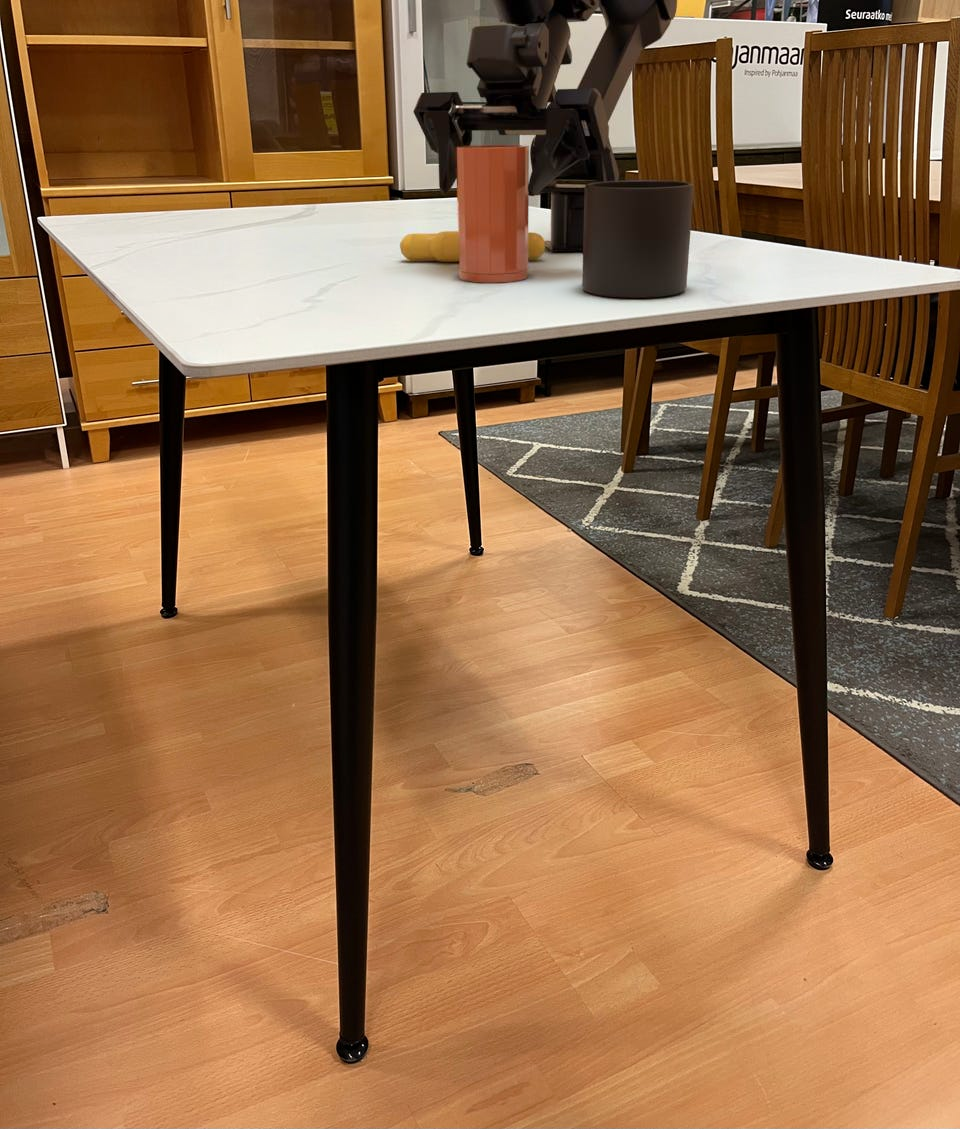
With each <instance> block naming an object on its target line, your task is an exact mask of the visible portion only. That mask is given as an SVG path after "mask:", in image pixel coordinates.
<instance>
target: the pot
mask: <svg viewBox="0 0 960 1129" xmlns="http://www.w3.org/2000/svg"><path fill="white" fill-rule="evenodd" d="M529 165H530V146H529V145H527V144H478V145H475V144H474V145H470V146H458V147H456V171H457V179H456V201H457V202H456V205H457V206H456V208H457V209H456V210H457V231H458V251H459V262H458V270H459V273H458V276H459V280H462V281H466V282H472V283H483V284H485V283H487V284H489V283H490V284H492V283H493V284H495V283H497V284H498V283H512V282H517V281H522V280H525V279H527V278H528V277H529V274H528V273H529V270H528V269H529V260H528V233H529V205H530V204H529V196H530V194H529V191H528V185H529V180H530V176H529V175H530V173H529V172H530V166H529Z"/></svg>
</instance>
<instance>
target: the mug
mask: <svg viewBox="0 0 960 1129" xmlns="http://www.w3.org/2000/svg"><path fill="white" fill-rule="evenodd" d="M585 185H586V186H585V201H584V237H583V250H582V276H581V277H582V278H581V286H582V288H583V290H584V291H586V292H587V293H590V294H593V295H596V296H600V297H606V298H618V299H655V298H663V297H670V296H674V295H677V294H680V293H682V292H684V291H685V290H686V288H687V284H688V283H687V282H688V271H689V269H688V268H689V257H690V244H691V243H690V242H691V228H692V216H693V215H692V214H693V202H694V201H693V200H694V191H695V190H694V189H695V188H694V187H695V185H694V183H692V182H688V181H680V180H663V179H662V180H660V179H659V180H658V179H654V180H653V179H643V180H642V179H631V180H630V179H628V180H625V179H624V180H618V181H605V182H597V181H593V182H590V183H587V184H585Z"/></svg>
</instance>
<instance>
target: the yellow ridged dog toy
mask: <svg viewBox="0 0 960 1129" xmlns="http://www.w3.org/2000/svg"><path fill="white" fill-rule="evenodd" d="M545 241H546V240H545V239H544V237H543V236H542V235H541V234H539V233H536V232H528V261H530V260H532V261H533V260H537V259H539V258H540V257H542V255H544V252H545V250H546V246H545ZM399 249H400V252H401V254H402V256H403V257H404V258H405V259H406V260H409V261H438V262H440V263H459V251H458V230H453V231H452V230H450V231H448V230H444V231H440V232H437V233H409V234H406V235H405V236H404V237H403V238H402V239H401V241H400V244H399Z"/></svg>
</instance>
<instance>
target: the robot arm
mask: <svg viewBox="0 0 960 1129" xmlns="http://www.w3.org/2000/svg"><path fill="white" fill-rule="evenodd" d="M491 2H492V4H493V7H494V10H495V12H496V16H497V18H498V21H499V23H504V24H495V25H494V24H493V25H477V26H474V27H472V28H471V32H470V38H469V46H468V50H467V58H466V66H467V67H468V69H471V70H472V72H474V73H475V75H476V76H477V77H478V78H479V80H478V83H477V86H476V90H477V93H478V95H479V97H480V98H481V99H483V98H484V99H485V103H484V104H474V105H473V104H469V105H468V104H466V105H464V104H463V101H462V98H461V95H460V94H459V91H437V92H434V91H433V92H421V93H420V95H419V97H418V99H417V101H416V104H415V106H414V109H413V110H412V111H413V112H412V113H413V114H414V117H415V118H416V120H417V123H418V125H419V128H420V129H421V131H422V133H423V135H424V138H425V139H426V142H427V143H428V145H429V148H430V150H431V151H433V152H434V153H436V154H437V156H438V157H437V158H438V160H437V162H438V187H439V190H440V192H441V194H442V195H448V193H449V191H450V190H451V189H452V187H453V186H454V184H455V182H456V181H457V171H456V147H458V146H471V144H472V142H473V132H475V131H477V132H479V131H480V132H483V131H486V132H487V131H488V132H489V131H497V132H498V135H499V136H534V137H533V138H532V140H531V143H530V147H529V160H530V166H531V173H530V176H529V185H528V191H529V196H530V197H535V196H537V194H544V193H545V194H546V193H548V194H550V240H544V241H545V248H547V249H548V250H550V251H551V252H574V251H575V252H577V251H579V252H580V251H583V237H584V201H585V186H586V184H566V183H565V184H561V183H557V181H575V182H576V181H579V182H580V181H581V182H587V181H588V182H605V181H619V178H620V171H619V168H618V165H617V161H616V159H615V155H614V152H613V148H612V145H611V141H610V136H609V135H610V126H609V122H610V120H611V117H612V115H613V113H614V111H615V109H616V107H617V104H618V102H619V100H620V98H621V95H622V94H623V92H624V89H625V87H626V85H627V83H628V81H629V78H630V76H631V74H632V72H633V70H634V68H635V66H636V63H637V61H638V58H639V57H640V55H641V52H642V51H643V50H644V49H647V47H649V46H651V45H652V44H653V45H654V43H656V42H659V40H661V39H662V37H663V36H664V35H665V33H666V31H667V30H668V28H669V27H670V25H671V22H672V20H674V19H675V17H676V14H677V8H678V0H491ZM598 8H599V11H600V12H601V15H602V17H603V19H604V23H605V30H604V32H603V33H602V36H601V38H600V40H599V42H598V44H597V46H596V49H595V50H594V52H593V54H592V57H591V59H590V60H589V63H588V64H587V66H586V68H585V71H584V73H583V75H582V77H581V79H580V81H579V83H578V85H577V87H576V88H557V89H556V85H555V83H556V81H557V77H558V75H559V71H560V69H561V67H562V66H563V65H564V66H565V65H566V66H567V65H571V64H572V62H573V53H572V49H571V46H570V43H569V42H570V39H571V37H572V36H571V35H572V34H571V27H570V25H569V23H579V22H587V21H588V20H589V19H590V18H591V17H592V15H594V13H595V12H596V11H597V10H598Z"/></svg>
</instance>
